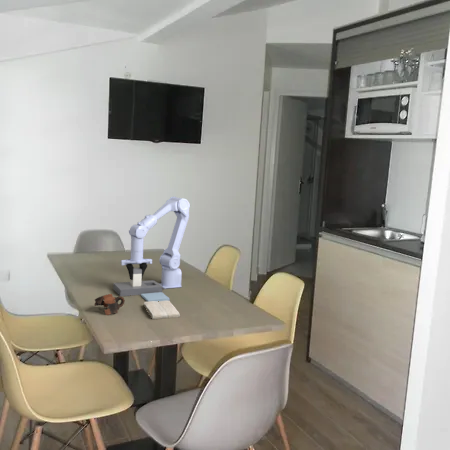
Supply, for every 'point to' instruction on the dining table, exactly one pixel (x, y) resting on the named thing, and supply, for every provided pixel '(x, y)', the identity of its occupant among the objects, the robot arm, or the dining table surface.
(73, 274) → the dining table surface
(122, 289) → the gray socket board
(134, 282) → the plug
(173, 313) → the washcloth
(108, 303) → the broken clay pot
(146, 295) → the pad
